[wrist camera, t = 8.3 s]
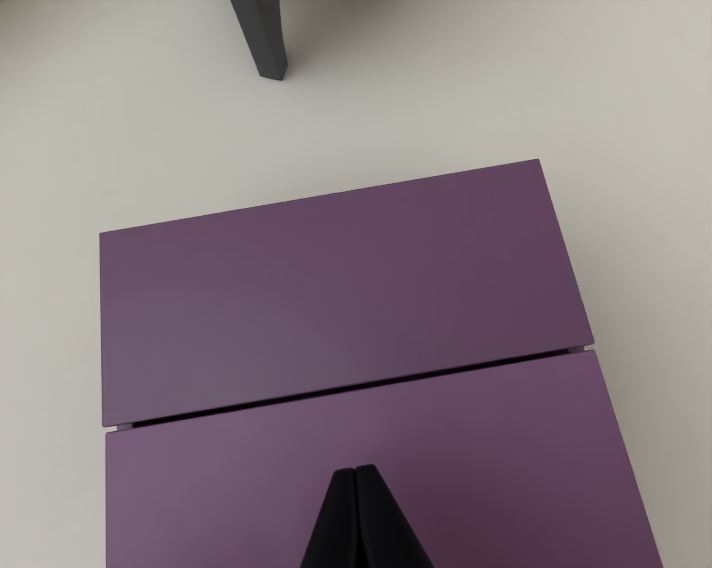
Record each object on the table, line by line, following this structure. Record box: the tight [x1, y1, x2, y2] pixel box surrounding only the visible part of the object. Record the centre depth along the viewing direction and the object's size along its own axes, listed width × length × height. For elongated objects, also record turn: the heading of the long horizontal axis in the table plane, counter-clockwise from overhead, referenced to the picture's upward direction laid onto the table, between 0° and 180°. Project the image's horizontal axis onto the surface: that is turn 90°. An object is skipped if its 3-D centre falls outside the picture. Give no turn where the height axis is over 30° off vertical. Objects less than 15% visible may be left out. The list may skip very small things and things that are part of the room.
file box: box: [99, 159, 595, 431], centre depth 16 cm, size 12×14×8 cm
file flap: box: [105, 350, 663, 568], centre depth 12 cm, size 6×14×1 cm, turn 99°
